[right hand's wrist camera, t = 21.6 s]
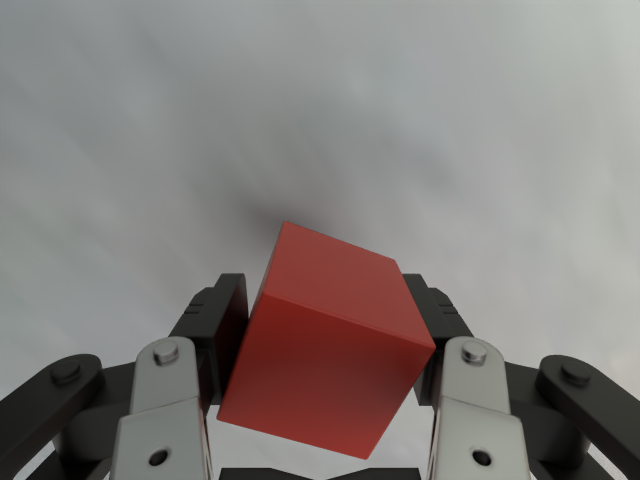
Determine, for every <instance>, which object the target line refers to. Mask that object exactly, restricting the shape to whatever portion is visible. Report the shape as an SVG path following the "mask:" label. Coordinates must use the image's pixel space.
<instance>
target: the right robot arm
mask: <svg viewBox="0 0 640 480" xmlns="http://www.w3.org/2000/svg"><path fill="white" fill-rule="evenodd" d="M402 276H403V278H404V280H405V282H406V284H407V286H408V288H409V291H410V293H411V295H412V297H413V299H414V301H415V303H416V305H417V307H418V310H419V312H420V314H421V316H422V318H423V320H424V322H425V324H426V326H427V329H428V331H429V333H430V335H431V337H432V339H433V341H434V343H435V345H436V350H435V351H434V353H433V355H432V356H431V358H430V359H429V361H428V363H427V364H426V366H425V367H424V369H423V371H422V372H421V374H420V375H419V377H418V379H417V380H416V382H415V384H414V385H413V388H414V391H415V394H416V397H417V400H418V403H419V406H432V407H433V410H434V419H433V425H432V434H431V442H430V451H429V459H428V468H427V477H426V480H531V476H530V471H531V472H532V474H533V475H534V476H535V477H536V479H537V480H614V479H613V478H612V477H611V476H610V475H609V474H608V473H607V472H606V471H605V469H604V468H603V467H602V466H601V465H600V464H599V463H598V462H597V461H596V460H595V459H594V458H593V457H592V456H591V455H590V454H589V453H588V452H587V451H588V449H589V447H590V444H591V442H592V443H593V444H594V445H595V446H596V447H597V448H598V449H599V450H600V451H601V452H602V453H603V454H604V455H605V456H606V457H607V458H608V459H609V460H610V461H611V462H612V463H613V464H614V465H615V466H616V467H617V468H618V469H619V470H620V471H621V472H622V473H623V474H624V475H625V476H626V477H627V479H628V480H640V401H639V400H637V399H636V398H635V397H634V396H632V395H631V394H630V393H628V392H627V391H626V390H624V389H623V388H622V387H620V386H619V385H618V384H616V383H615V382H614V381H612V380H611V379H610V378H608V377H607V376H606V375H604V374H603V373H602V372H600V371H599V370H597V369H596V368H594V367H593V366H591V365H589V364H587V363H585V362H583V361H581V360H578V359H576V358H572V357H568V356H563V355H550V356H546V357H544V358H543V359H542V360H541V363H540V366H539V369H535V368H530V367H526V366H521V365H516V364H512V363H509V362H506V361H504V359H503V356H502V354H501V353H500V352H499V350H497V349H496V348H495V347H494V346H493V345H491V344H489V343H488V342H485V341H483V340H480V339H477V338H475V337H474V336H473V334H472V333H471V331H470V330H469V328H468V327H467V325H466V324H465V322H464V321H463V319H462V318H461V316H460V314H458V311H457V310H456V308H455V307H453V304H452V302H451V301H450V299H449V298H448V296H447V295H446V294H444V293H443V292H441V291H440V290H438V289H437V288H428V286H427V285H426V283H425V281H424V280H423V278H422V276H421V275H420V274H402ZM248 319H249V313H248V301H247V290H246V279H245V275H244V274H243V273H223V274H221V276H220V277H219V279H218V281H217V283H216V284H215V286H214V287H206V288H204V289H203V290H202V291H200V292H199V293H197V294H196V295H195V296H194V297H193V299H192V300H191V302H190V304H189V306H188V307H187V308H186V310H185V311H184V314H182V316H181V317H180V319H179V321H178V322H177V324H176V325H175V327H174V328H173V330H172V331H171V333H170V334H169V336H168V337H166V338H163V339H160V340H157V341H155V342H152V343H151V344H149V345H147V346H146V347H145V348H144V349H143V350H141V352H140V353H139V354H138V356H137V359H136V361H135V362H132V363H128V364H123V365H119V366H114V367H109V368H105V369H103V368H102V364H101V361H100V359H99V358H98V357H97V356H95V355H91V354H78V355H73V356H69V357H66V358H63V359H60V360H58V361H56V362H54V363H52V364H50V365H48V366H47V367H45V368H44V369H42V370H41V371H40V372H38V373H37V374H36V375H34V376H33V377H32V378H30V379H29V380H28V381H26V382H25V383H24V384H22V385H21V386H20V387H18V388H17V389H16V390H14V391H13V392H12V393H11V394H9V395H8V396H7V397H5V398H4V399H3V400H1V401H0V480H13V478H14V477H15V476H16V474H17V473H18V472H19V471H20V470H21V469H22V468H23V467H24V466H25V465H26V464H27V463H28V462H29V461H30V460H31V459H32V458H33V457H34V456H35V455H36V454H37V453H38V452H39V451H40V450H41V449H42V448H43V447H44V446H45V445H46V444H47V443H48V442H49V441H51V440H52V442H53V444H54V447H55V450H54V451H53V452H52V453H51V454H50V455H49V456H48V457H47V458H46V459H45V460H44V461H43V462H42V463H41V464H40V465H39V466H38V467H37V468H36V470H35V471H34V472H33V473H32V474H31V475H30V476H29V477H28V478H27V479H26V480H103V479H104V477H105V476H106V475H107V474H108V472H109V471H110V476H109V480H214V477H213V468H212V459H211V451H210V442H209V434H208V425H207V419H206V416H207V413H208V410H209V408H210V405H220V404H221V401H222V399H223V396H224V393H225V390H226V386H227V383H228V380H229V377H230V374H231V371H232V368H233V365H234V362H235V359H236V356H237V353H238V350H239V347H240V344H241V341H242V338H243V335H244V332H245V329H246V326H247V323H248ZM219 480H313V479H309V478H305V477H302V476H298V475H294V474H291V473H287V472H283V471H280V470H276V469H272V468H222V469H221V473H220V477H219ZM327 480H421V477H420V473H419V469H418V468H368V469H364V470H360V471H357V472H353V473H349V474H346V475H342V476H338V477H335V478H331V479H327Z"/></svg>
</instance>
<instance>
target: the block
mask: <svg viewBox="0 0 640 480" xmlns="http://www.w3.org/2000/svg"><path fill="white" fill-rule="evenodd" d="M435 350H436V345H435V343H434V341H433V339H432V337H431V335H430V333H429V331H428V329H427V326H426V324H425V322H424V320H423V318H422V316H421V314H420V312H419V310H418V307H417V305H416V303H415V301H414V299H413V297H412V295H411V293H410V291H409V288H408V286H407V284H406V282H405V280H404V278H403V276H402V274H401V272H400V269H399V267H398V265H397V263H396V261H395V260H394V259H391V258H388V257H385V256H382V255H380V254H377V253H374V252H371V251H368V250H366V249H363V248H360V247H357V246H354V245H352V244H349V243H346V242H343V241H340V240H338V239H335V238H332V237H329V236H326V235H324V234H321V233H318V232H315V231H312V230H309V229H307V228H304V227H301V226H298V225H295V224H293V223H290V222H287V221H284V222H283V224H282V227H281V230H280V233H279V235H278V238H277V241H276V244H275V247H274V249H273V252H272V255H271V258H270V260H269V263H268V266H267V269H266V272H265V274H264V277H263V280H262V283H261V285H260V288H259V291H258V294H257V297H256V299H255V302H254V305H253V308H252V311H251V313H250V316H249V319H248V323H247V326H246V329H245V332H244V335H243V338H242V341H241V344H240V347H239V350H238V353H237V356H236V359H235V362H234V365H233V368H232V371H231V374H230V377H229V380H228V383H227V386H226V390H225V393H224V396H223V399H222V401H221V404H220V407H219V410H218V413H217V420H219V421H223V422H227V423H230V424H234V425H238V426H241V427H245V428H249V429H253V430H256V431H260V432H264V433H267V434H271V435H275V436H279V437H282V438H286V439H290V440H294V441H297V442H301V443H305V444H308V445H312V446H316V447H320V448H323V449H327V450H331V451H334V452H338V453H342V454H346V455H349V456H353V457H357V458H360V459H364V460H367V459H368V457H369V456H370V454H371V453H372V451H373V449H374V448H375V446H376V445H377V443H378V441H379V440H380V438H381V437H382V435H383V433H384V432H385V430H386V429H387V427H388V425H389V424H390V422H391V420H392V419H393V417H394V416H395V414H396V412H397V411H398V409H399V408H400V406H401V404H402V403H403V401H404V400H405V398H406V396H407V395H408V393H409V392H410V390H411V388H412V387H413V385H414V384H415V382H416V380H417V379H418V377H419V375H420V374H421V372H422V371H423V369H424V367H425V366H426V364H427V363H428V361H429V359H430V358H431V356H432V355H433V353H434V351H435Z"/></svg>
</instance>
